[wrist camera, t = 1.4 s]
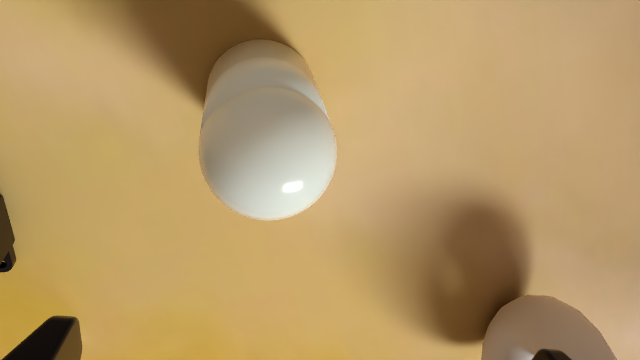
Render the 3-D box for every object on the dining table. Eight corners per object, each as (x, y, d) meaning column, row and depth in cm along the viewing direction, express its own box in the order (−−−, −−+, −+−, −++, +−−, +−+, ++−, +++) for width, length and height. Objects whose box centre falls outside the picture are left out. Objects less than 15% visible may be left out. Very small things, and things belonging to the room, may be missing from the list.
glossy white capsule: (206, 137, 20) (194, 248, 14) (207, 34, 18) (191, 114, 12) (308, 142, 21) (337, 249, 15) (321, 44, 19) (361, 123, 13)
